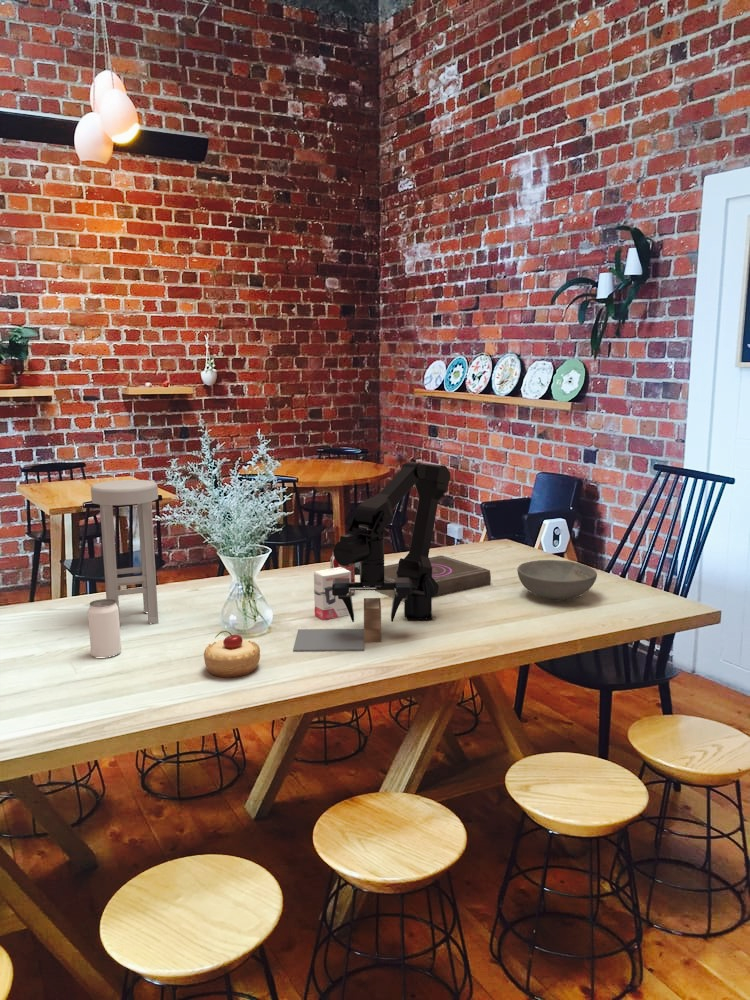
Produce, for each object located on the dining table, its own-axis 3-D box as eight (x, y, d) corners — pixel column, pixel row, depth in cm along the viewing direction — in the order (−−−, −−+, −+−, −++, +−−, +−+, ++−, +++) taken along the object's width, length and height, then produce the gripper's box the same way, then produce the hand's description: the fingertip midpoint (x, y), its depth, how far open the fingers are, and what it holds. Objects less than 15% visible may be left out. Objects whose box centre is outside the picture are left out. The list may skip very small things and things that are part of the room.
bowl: (569, 583, 233) (570, 557, 231) (611, 603, 213) (612, 574, 212) (504, 590, 226) (504, 563, 225) (541, 612, 207) (542, 582, 205)
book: (441, 570, 250) (442, 555, 249) (490, 586, 232) (491, 570, 231) (361, 586, 233) (361, 570, 232) (407, 605, 215) (407, 587, 214)
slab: (380, 629, 194) (380, 597, 193) (381, 642, 185) (381, 608, 184) (364, 629, 194) (363, 597, 193) (364, 642, 185) (363, 608, 184)
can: (97, 648, 182) (94, 598, 180) (125, 648, 182) (122, 598, 180) (86, 658, 176) (82, 606, 174) (115, 659, 176) (112, 606, 174)
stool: (168, 624, 199) (160, 486, 193) (102, 633, 193) (93, 490, 187) (159, 607, 213) (152, 477, 207) (98, 614, 207) (89, 481, 201)
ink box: (323, 620, 201) (322, 575, 199) (314, 615, 205) (313, 571, 203) (352, 614, 206) (351, 570, 204) (342, 609, 210) (341, 566, 208)
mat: (364, 630, 194) (364, 628, 193) (364, 650, 180) (364, 649, 180) (298, 630, 193) (298, 629, 193) (293, 651, 180) (293, 649, 179)
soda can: (359, 594, 223) (359, 552, 221) (339, 598, 219) (338, 556, 217) (346, 589, 229) (346, 548, 227) (326, 593, 225) (325, 551, 223)
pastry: (264, 678, 166) (264, 638, 164) (206, 684, 162) (205, 643, 161) (256, 656, 177) (255, 618, 175) (201, 661, 174) (200, 623, 172)
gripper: (409, 549, 194) (409, 610, 197) (333, 549, 194) (334, 611, 197) (412, 560, 183) (412, 625, 186) (331, 561, 183) (332, 626, 186)
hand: (372, 621), depth 189 cm, fingers open, 9 cm apart
